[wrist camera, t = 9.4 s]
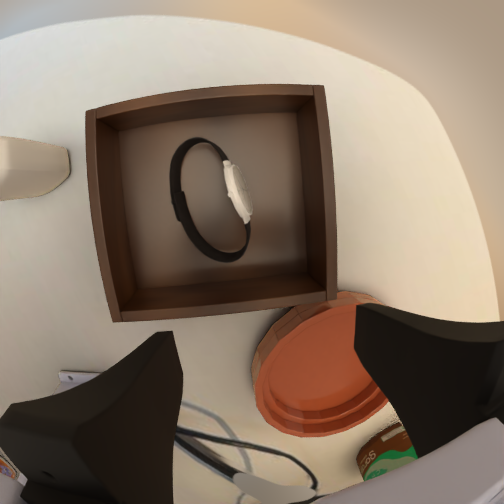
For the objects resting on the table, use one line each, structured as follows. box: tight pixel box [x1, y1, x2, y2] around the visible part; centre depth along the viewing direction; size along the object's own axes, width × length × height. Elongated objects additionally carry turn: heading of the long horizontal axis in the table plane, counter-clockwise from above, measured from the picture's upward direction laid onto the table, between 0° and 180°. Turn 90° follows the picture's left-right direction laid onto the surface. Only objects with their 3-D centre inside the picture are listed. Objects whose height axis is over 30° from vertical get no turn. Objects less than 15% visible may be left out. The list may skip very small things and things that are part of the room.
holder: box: [85, 84, 337, 322], centre depth 17 cm, size 13×12×4 cm
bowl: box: [251, 291, 389, 437], centre depth 21 cm, size 13×13×3 cm
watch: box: [169, 137, 253, 263], centre depth 16 cm, size 8×5×4 cm, turn 19°
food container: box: [356, 422, 418, 481], centre depth 22 cm, size 12×6×10 cm, turn 4°
